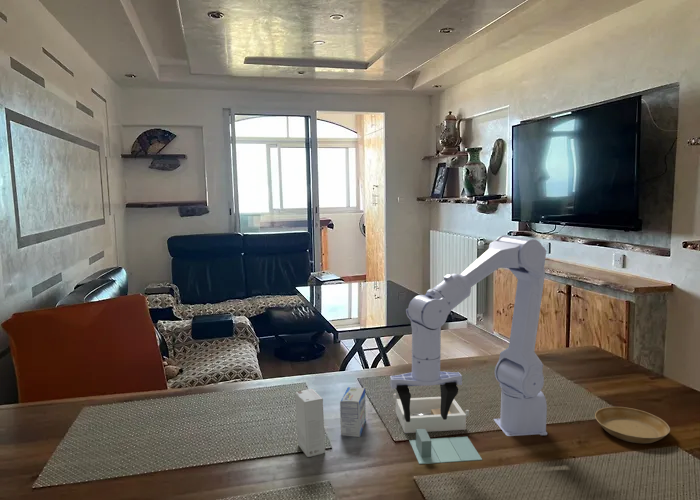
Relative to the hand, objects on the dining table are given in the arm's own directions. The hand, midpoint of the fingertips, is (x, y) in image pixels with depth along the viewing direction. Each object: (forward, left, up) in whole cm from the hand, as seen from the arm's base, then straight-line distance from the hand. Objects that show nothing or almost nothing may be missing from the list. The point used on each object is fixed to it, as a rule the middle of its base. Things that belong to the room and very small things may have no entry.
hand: (425, 418), depth 103 cm
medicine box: (+14, -12, -8) cm, 20 cm away
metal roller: (-2, -12, -5) cm, 14 cm away
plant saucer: (-48, -4, -8) cm, 49 cm away
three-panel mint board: (-4, 0, -8) cm, 9 cm away
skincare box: (+24, -5, -8) cm, 25 cm away
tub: (-4, -13, -8) cm, 16 cm away
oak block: (-7, -12, -7) cm, 16 cm away
